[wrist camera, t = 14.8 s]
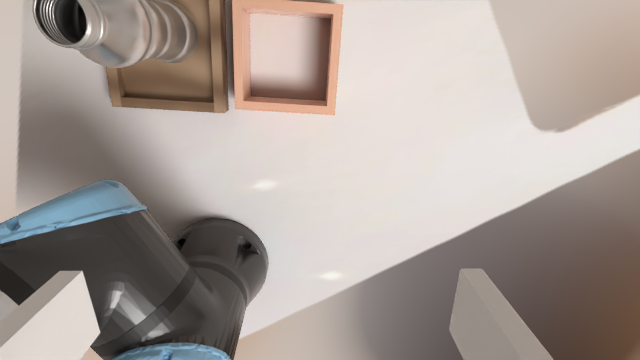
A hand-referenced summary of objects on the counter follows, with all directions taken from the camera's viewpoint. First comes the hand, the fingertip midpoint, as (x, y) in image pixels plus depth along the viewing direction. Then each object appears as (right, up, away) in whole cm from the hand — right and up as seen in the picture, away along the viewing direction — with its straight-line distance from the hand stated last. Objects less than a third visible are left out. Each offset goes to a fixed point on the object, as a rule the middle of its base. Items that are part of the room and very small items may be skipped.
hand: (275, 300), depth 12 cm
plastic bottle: (-16, +22, +29) cm, 40 cm away
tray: (-17, +23, +30) cm, 41 cm away
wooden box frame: (-2, +20, +31) cm, 37 cm away
